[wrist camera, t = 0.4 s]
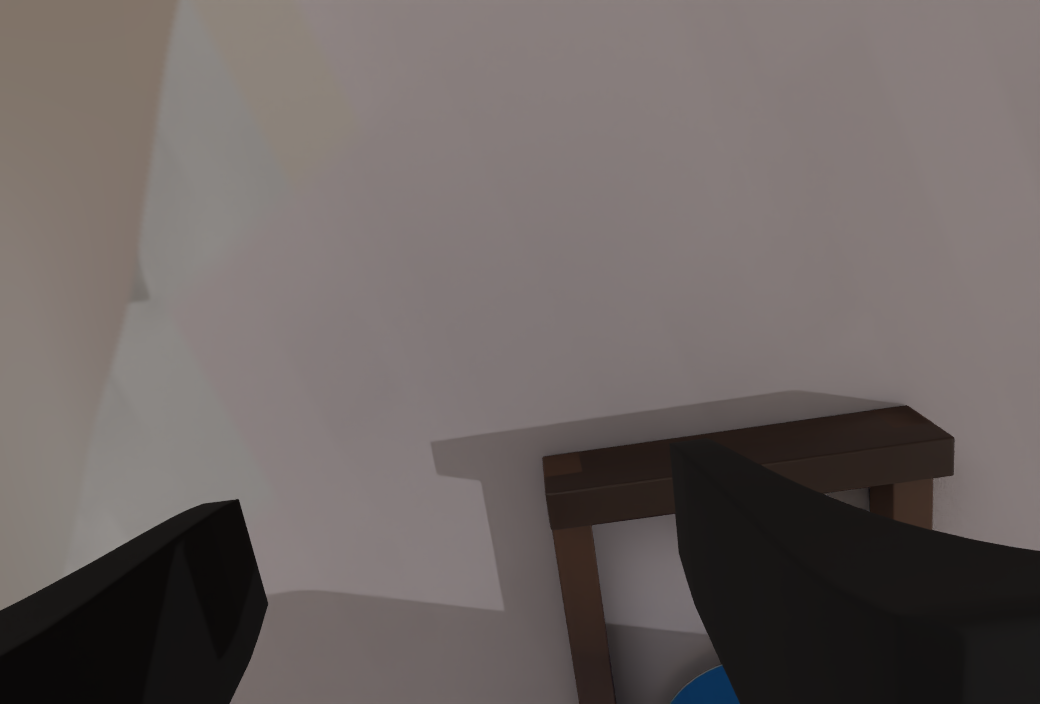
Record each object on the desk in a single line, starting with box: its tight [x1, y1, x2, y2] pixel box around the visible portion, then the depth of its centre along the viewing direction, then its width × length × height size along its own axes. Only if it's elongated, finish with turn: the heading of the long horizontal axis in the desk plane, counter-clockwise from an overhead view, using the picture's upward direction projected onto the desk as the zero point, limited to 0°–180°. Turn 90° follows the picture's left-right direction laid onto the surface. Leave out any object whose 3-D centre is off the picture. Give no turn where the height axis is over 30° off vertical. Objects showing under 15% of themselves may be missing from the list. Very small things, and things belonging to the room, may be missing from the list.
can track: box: [542, 405, 955, 704], centre depth 23 cm, size 15×11×2 cm
